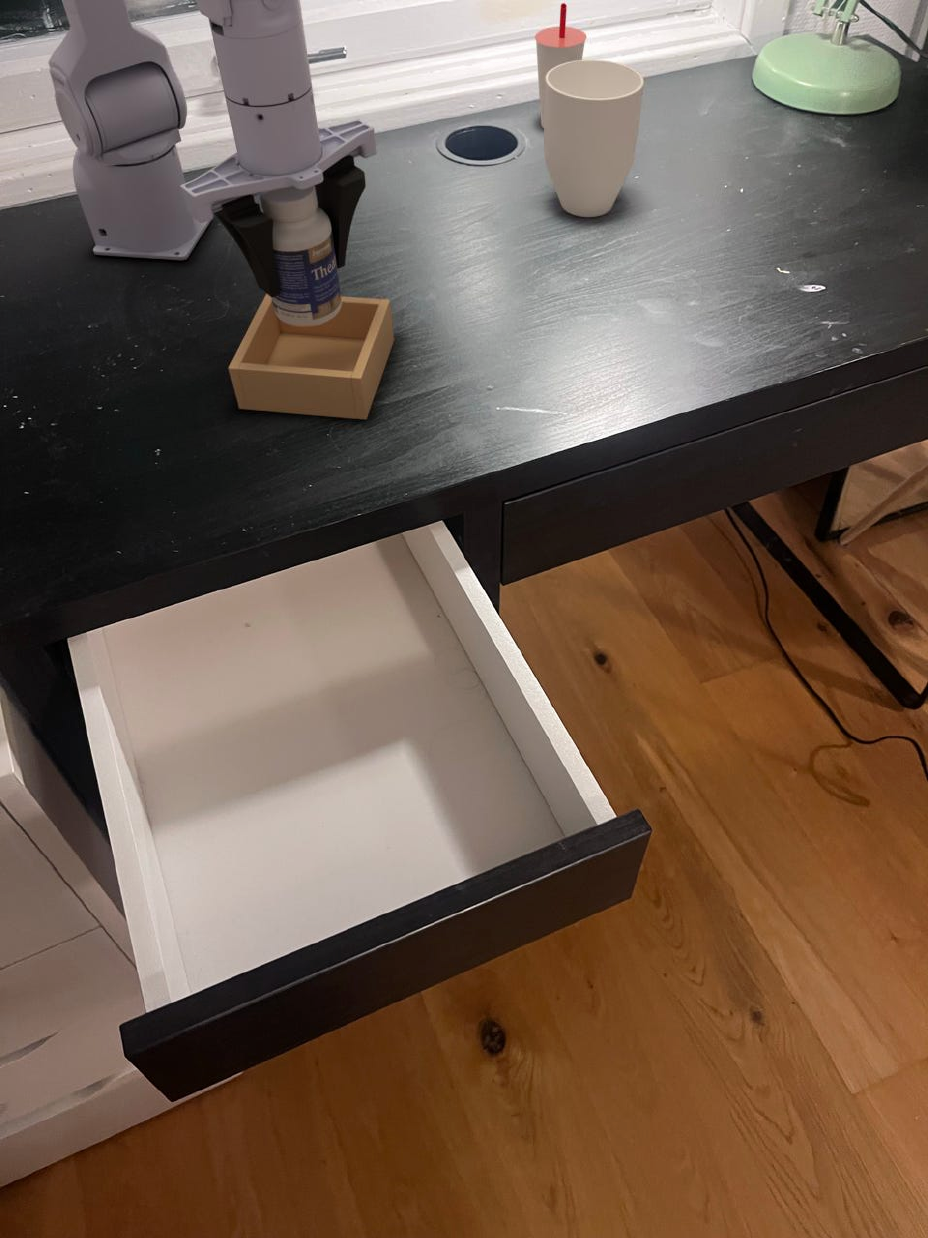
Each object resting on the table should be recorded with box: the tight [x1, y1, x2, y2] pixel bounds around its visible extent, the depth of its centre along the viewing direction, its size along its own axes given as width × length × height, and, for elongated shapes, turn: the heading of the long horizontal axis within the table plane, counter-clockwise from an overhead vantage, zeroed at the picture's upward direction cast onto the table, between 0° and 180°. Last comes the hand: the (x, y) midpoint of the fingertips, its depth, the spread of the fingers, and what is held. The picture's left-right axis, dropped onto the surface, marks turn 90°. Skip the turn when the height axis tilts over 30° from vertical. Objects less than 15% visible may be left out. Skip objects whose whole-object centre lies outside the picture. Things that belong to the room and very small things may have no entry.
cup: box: [534, 2, 587, 129], centre depth 102 cm, size 5×5×12 cm
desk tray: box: [228, 293, 395, 421], centre depth 78 cm, size 11×11×4 cm
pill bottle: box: [259, 185, 342, 327], centre depth 71 cm, size 5×5×10 cm
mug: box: [543, 59, 645, 218], centre depth 92 cm, size 12×9×12 cm
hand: (301, 276), depth 73 cm, fingers closed on pill bottle, 5 cm apart
